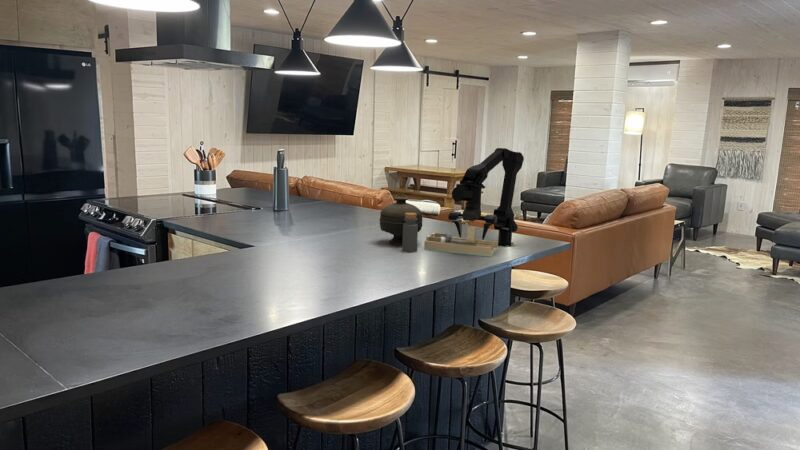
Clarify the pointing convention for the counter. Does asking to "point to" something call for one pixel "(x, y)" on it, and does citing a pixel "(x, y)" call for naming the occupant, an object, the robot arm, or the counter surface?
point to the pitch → (464, 247)
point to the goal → (435, 237)
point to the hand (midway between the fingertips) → (471, 238)
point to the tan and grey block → (470, 237)
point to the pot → (398, 219)
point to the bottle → (410, 233)
